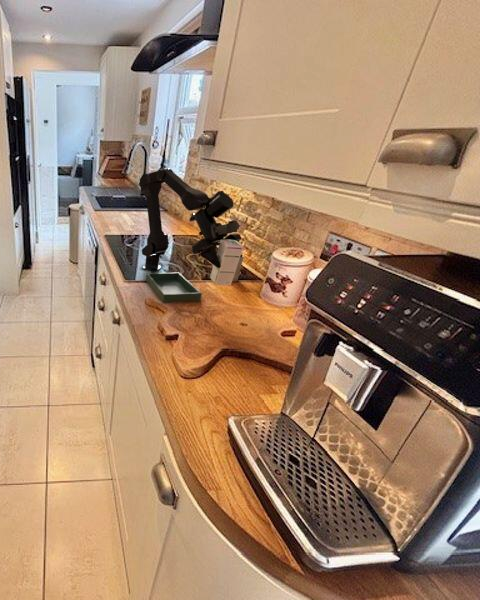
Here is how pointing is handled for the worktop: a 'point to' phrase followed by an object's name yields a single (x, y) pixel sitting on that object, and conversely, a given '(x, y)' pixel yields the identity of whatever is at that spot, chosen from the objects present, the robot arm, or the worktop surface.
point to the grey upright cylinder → (238, 268)
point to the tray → (172, 287)
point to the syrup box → (226, 262)
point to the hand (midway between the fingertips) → (227, 265)
